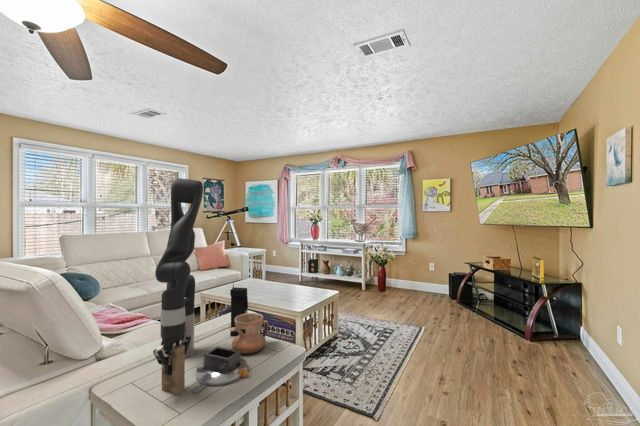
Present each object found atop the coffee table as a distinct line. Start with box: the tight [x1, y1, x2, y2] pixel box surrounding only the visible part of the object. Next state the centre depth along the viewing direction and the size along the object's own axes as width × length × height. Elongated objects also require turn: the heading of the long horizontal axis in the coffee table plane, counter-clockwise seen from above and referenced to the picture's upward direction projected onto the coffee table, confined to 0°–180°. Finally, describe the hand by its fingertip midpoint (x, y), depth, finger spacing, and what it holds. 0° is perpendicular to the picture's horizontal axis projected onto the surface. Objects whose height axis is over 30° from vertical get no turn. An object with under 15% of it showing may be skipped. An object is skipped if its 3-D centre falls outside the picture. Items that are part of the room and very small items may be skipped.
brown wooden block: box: [161, 345, 186, 396], centre depth 101 cm, size 7×3×15 cm, turn 68°
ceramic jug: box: [229, 312, 269, 355], centre depth 131 cm, size 18×14×14 cm
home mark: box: [191, 383, 207, 394], centre depth 101 cm, size 2×4×1 cm, turn 158°
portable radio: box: [229, 283, 249, 338], centre depth 147 cm, size 8×6×25 cm
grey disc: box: [195, 346, 248, 387], centre depth 111 cm, size 19×18×7 cm
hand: (173, 372), depth 101 cm, fingers closed on brown wooden block, 3 cm apart
